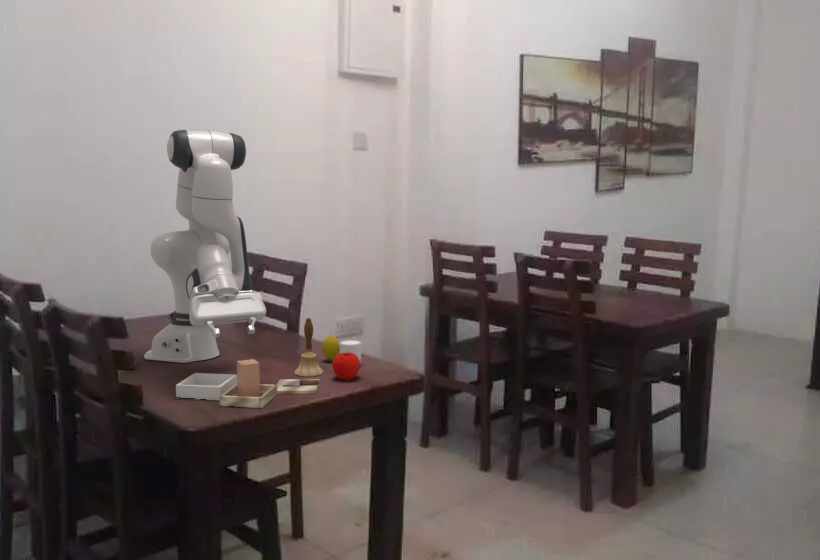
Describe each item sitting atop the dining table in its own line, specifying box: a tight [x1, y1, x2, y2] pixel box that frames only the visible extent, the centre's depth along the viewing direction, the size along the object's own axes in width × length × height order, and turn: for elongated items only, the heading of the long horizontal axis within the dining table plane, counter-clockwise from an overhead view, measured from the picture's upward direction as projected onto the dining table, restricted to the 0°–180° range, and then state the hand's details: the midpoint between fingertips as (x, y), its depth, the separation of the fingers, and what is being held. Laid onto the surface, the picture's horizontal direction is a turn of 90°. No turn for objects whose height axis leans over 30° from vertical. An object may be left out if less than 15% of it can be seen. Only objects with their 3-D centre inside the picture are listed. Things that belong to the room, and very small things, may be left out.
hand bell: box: [294, 317, 324, 378], centre depth 238 cm, size 8×8×16 cm
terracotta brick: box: [236, 358, 261, 397], centre depth 213 cm, size 4×4×10 cm
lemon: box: [321, 334, 340, 362], centre depth 252 cm, size 6×6×8 cm
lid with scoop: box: [276, 378, 321, 395], centre depth 224 cm, size 11×11×2 cm
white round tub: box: [339, 339, 363, 366], centre depth 247 cm, size 7×7×7 cm
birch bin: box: [219, 382, 278, 409], centre depth 213 cm, size 11×12×2 cm
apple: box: [331, 353, 361, 381], centre depth 233 cm, size 8×8×7 cm
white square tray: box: [175, 372, 238, 401], centre depth 219 cm, size 12×12×4 cm
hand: (234, 334), depth 220 cm, fingers open, 8 cm apart
